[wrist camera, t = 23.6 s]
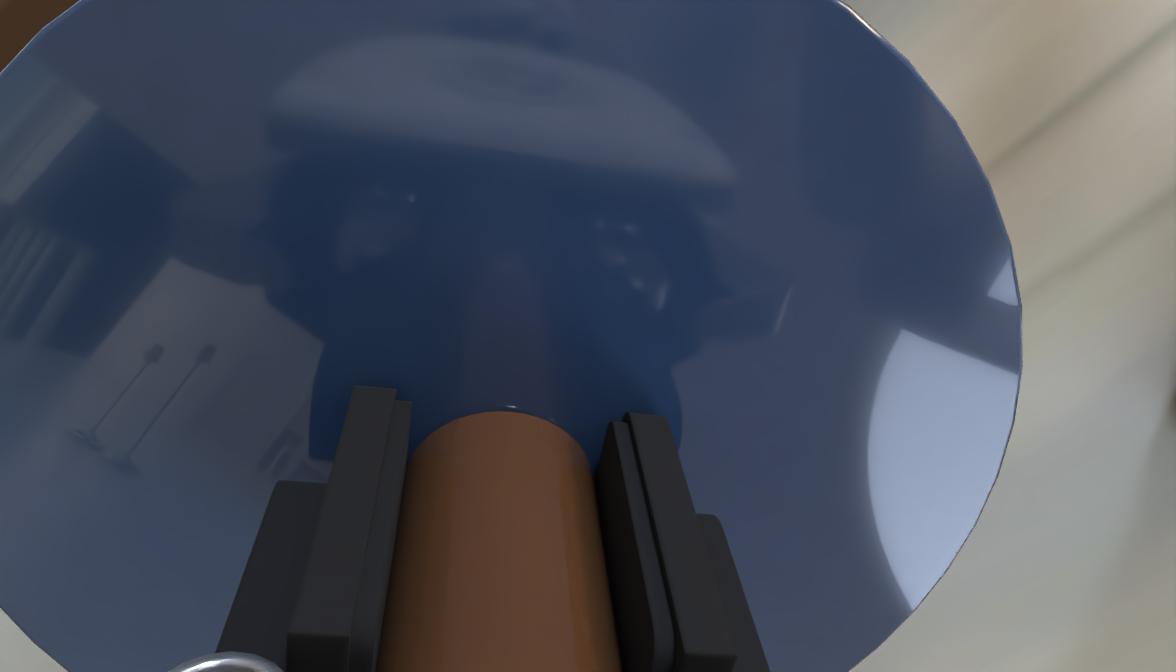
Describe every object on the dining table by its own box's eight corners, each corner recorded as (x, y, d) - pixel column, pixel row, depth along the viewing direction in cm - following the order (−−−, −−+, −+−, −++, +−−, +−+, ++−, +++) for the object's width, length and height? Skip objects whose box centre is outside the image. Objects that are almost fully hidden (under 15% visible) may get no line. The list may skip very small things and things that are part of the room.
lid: (1016, 599, 15) (1291, 994, 10) (301, 819, 17) (209, 1271, 11) (906, -361, 8) (1679, -771, 3) (-344, 163, 9) (-1431, 563, 4)
